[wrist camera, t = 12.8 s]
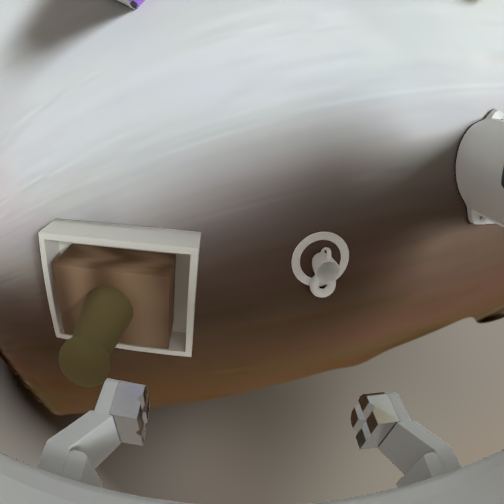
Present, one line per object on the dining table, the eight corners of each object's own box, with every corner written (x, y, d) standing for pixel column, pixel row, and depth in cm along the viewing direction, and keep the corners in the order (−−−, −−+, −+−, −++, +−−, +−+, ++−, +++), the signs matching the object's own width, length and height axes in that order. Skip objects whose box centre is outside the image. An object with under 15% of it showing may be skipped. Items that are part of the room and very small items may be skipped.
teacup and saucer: (329, 295, 45) (338, 311, 41) (278, 280, 43) (284, 296, 39) (357, 241, 42) (369, 254, 38) (305, 221, 40) (314, 233, 36)
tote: (201, 231, 39) (198, 248, 34) (193, 333, 45) (191, 357, 40) (55, 218, 36) (38, 232, 31) (68, 317, 42) (56, 337, 38)
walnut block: (176, 254, 39) (169, 277, 33) (173, 320, 43) (168, 349, 37) (72, 243, 37) (52, 263, 31) (79, 308, 41) (64, 333, 35)
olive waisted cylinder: (131, 334, 36) (109, 403, 26) (85, 321, 35) (53, 385, 25) (136, 293, 34) (110, 361, 24) (86, 279, 32) (46, 341, 22)
